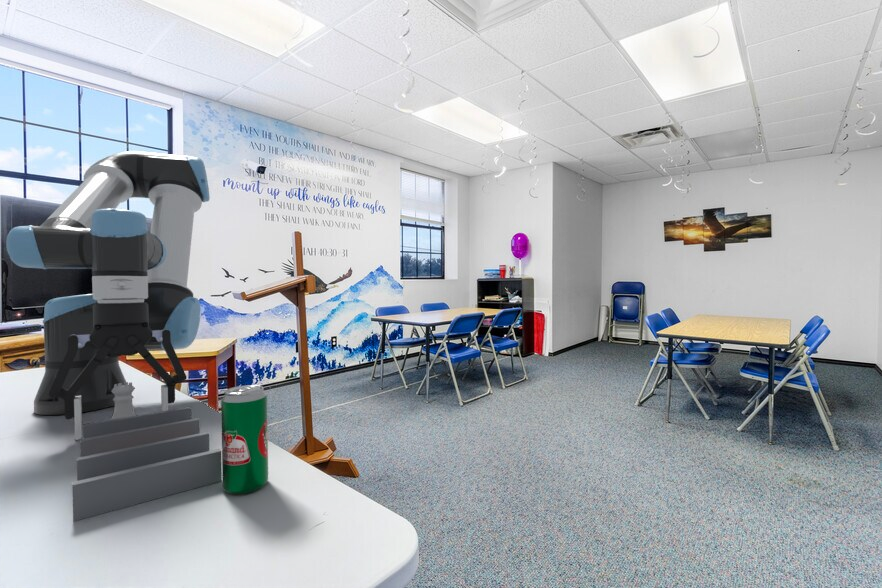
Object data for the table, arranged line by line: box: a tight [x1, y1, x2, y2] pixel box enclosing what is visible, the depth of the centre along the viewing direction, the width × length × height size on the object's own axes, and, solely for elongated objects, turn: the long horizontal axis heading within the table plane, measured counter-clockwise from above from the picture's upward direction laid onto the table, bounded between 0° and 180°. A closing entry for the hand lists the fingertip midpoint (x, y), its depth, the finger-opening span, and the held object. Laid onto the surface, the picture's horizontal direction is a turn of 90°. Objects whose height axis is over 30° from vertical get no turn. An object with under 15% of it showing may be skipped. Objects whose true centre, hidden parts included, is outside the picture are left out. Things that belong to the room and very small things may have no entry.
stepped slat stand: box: [71, 406, 223, 522], centre depth 57 cm, size 25×14×4 cm, turn 39°
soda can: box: [220, 384, 269, 496], centre depth 50 cm, size 5×5×12 cm
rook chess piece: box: [110, 381, 137, 420], centre depth 71 cm, size 4×4×8 cm
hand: (124, 429), depth 71 cm, fingers open, 11 cm apart
